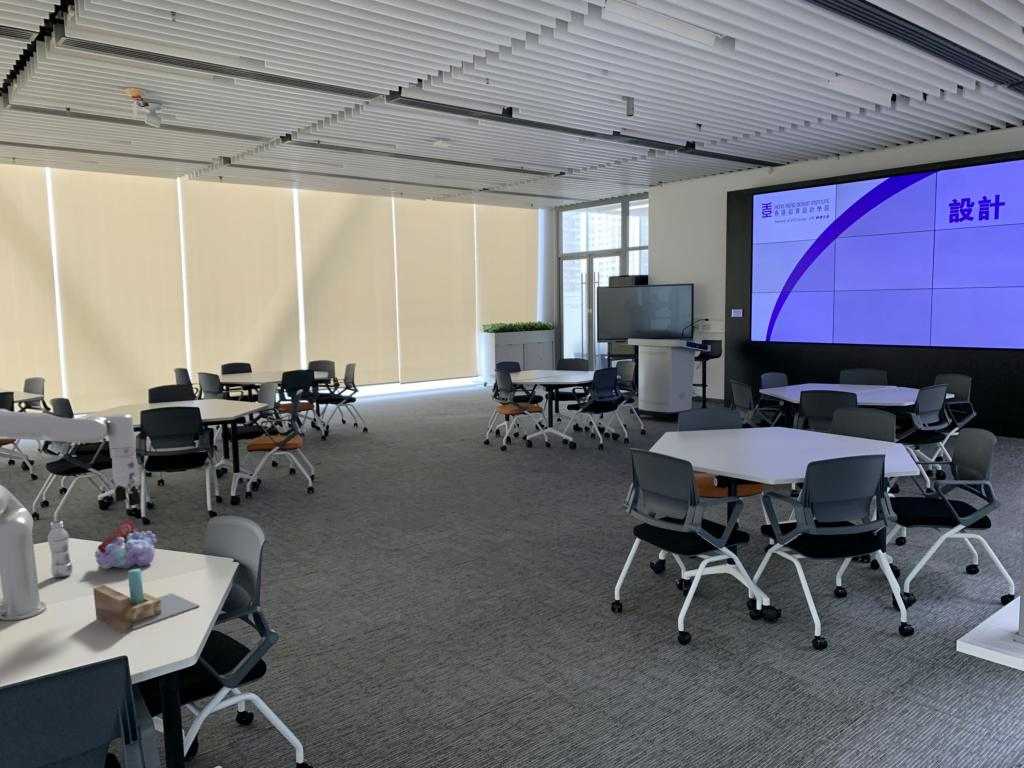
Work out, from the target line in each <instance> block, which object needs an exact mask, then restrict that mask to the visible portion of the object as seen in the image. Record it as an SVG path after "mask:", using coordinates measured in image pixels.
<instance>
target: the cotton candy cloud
mask: <svg viewBox="0 0 1024 768" xmlns="http://www.w3.org/2000/svg"><path fill="white" fill-rule="evenodd" d="M157 542H158V539H157V538H156V535H155V534H154V533H152V531H151V530H147V531H140V532H139V529H138V528H137V527H136V526H135V525H134V523H132V522H131V520H130V519H128V518H127V519H126V520H125V521H123V523H121V525H120V526H118V528H117V529H115V530H114V531H113V533H111V534H110V535H109V536H108V537H107V538H106V539H104V541H102V542H101V544H100V543H99V545H98V546H97V549H96V551H95V552H94V557H95V559H96V560H95V562H96V563H97V564H98V566H100V568H102V569H107V570H109V569H111V568H112V567H116V568H120V569H121V568H122V569H125V570H126V569H127V570H128V569H130V568H131V567H134V566H135V564H136V565H138V566H139V567H144V566H148V565H150V564H151V562H153V560H154V558H155V552H156V550H155V549H156V548H155V545H154V544H156V543H157Z"/></svg>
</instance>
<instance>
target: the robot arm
mask: <svg viewBox="0 0 1024 768" xmlns="http://www.w3.org/2000/svg"><path fill="white" fill-rule="evenodd" d="M106 437H108V444H109V455H110V458H111V459H112V460H111V465H112V467H111V468H112V475H111V477H112V480H113V485H114V486H113V488H114V491H115V492H114V494H115V495H114V496H115V501H116V502H117V503H119V502H123V501H126V500H127V490H128V492H129V493H128V503H129V504H128V505H129V506H136V505H140V503H141V501H140V500H141V499H140V485H141V476H140V469H139V464H138V459H137V452H136V439H135V430H134V419H133V416H132V415H130V414H128V413H121V414H120V413H119V414H113V415H90V416H88V417H86V418H71V417H70V418H69V417H60V416H57V415H54V414H51V413H45V412H31V411H30V412H29V411H28V412H26V411H25V412H23V411H11V410H8V409H6V408H0V440H2V439H4V440H29V441H31V440H33V441H35V440H36V441H47V442H63V443H81V444H83V443H85V444H86V443H87V444H88V443H89V444H90V443H91V444H95V443H98V442H100V441H103V440H104V438H105V439H106ZM126 489H127V490H126ZM33 526H34V519H33V516H32V514H31V513H30V511H28V509H27V508H26V507H25V506H24V505H23V503H21V502H20V501H19V500H18V499H17V498H16V497H15V495H13V493H12V492H11V491H9V490H8V489H7V488H6V487H5V486H3V485H1V484H0V583H1V590H2V591H1V592H2V601H0V620H2V621H17V620H24V619H27V618H30V617H34V616H36V615H40V614H41V613H43V612H44V611H45V610H46V609H47V603H45V602H44V601H41V598H40V590H39V582H38V581H39V580H38V572H37V564H36V562H37V561H36V556H35V555H36V554H35V548H34V547H35V546H34V541H33V529H34V528H33Z"/></svg>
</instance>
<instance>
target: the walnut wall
mask: <svg viewBox="0 0 1024 768" xmlns="http://www.w3.org/2000/svg"><path fill="white" fill-rule="evenodd" d="M92 591H93V598H94V599H93V600H94V606H95V616H96V617H95V618H98V619H99V620H101V621H103V622H105V623H107V624H108V625H110V626H112V627H114V628H116V629H118V630H119V631H121V632H125V631H128V630H131V629H133V622H132V612H131V601H130V596H127V595H126V594H124V593H121V592H119V591H118V590H115V589H113V588H112V587H111V588H110V587H109V586H107V585H104V584H102V585H98V586H96V587H93V590H92ZM108 625H107V626H108Z"/></svg>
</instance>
